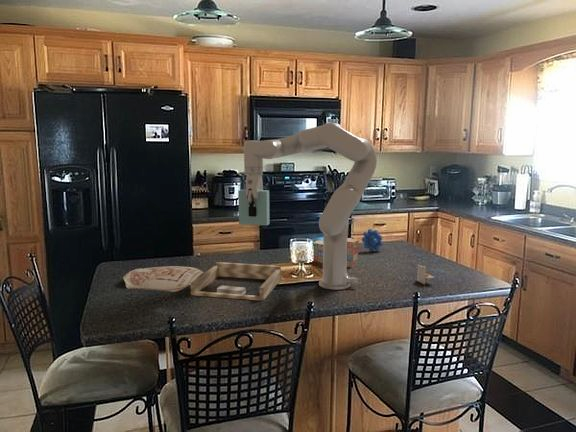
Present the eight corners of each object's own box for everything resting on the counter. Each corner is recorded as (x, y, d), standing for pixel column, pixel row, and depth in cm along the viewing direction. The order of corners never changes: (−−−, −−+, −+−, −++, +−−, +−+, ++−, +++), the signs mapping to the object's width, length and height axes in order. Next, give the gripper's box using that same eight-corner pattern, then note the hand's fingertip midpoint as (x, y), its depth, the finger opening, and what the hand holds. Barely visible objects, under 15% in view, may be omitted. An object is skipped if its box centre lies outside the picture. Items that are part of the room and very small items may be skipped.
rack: (281, 282, 200) (281, 265, 199) (263, 304, 175) (263, 285, 174) (216, 277, 207) (216, 261, 205) (190, 298, 181) (190, 280, 180)
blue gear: (364, 254, 247) (365, 230, 245) (359, 251, 253) (360, 228, 251) (385, 252, 250) (386, 229, 248) (380, 249, 256) (380, 227, 254)
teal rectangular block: (269, 223, 202) (269, 190, 200) (266, 225, 199) (266, 191, 196) (241, 222, 205) (241, 189, 203) (238, 224, 201) (238, 190, 199)
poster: (115, 296, 194) (186, 298, 188) (113, 281, 193) (184, 283, 187) (149, 271, 221) (211, 273, 215) (147, 258, 219) (210, 259, 213)
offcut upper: (245, 292, 183) (245, 287, 183) (241, 296, 179) (241, 291, 179) (221, 290, 186) (221, 285, 186) (216, 293, 182) (216, 288, 182)
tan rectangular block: (311, 261, 233) (311, 236, 231) (317, 258, 238) (318, 234, 236) (352, 268, 222) (353, 241, 220) (358, 264, 227) (358, 239, 225)
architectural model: (423, 280, 204) (424, 263, 203) (433, 285, 197) (434, 268, 196) (416, 281, 203) (417, 264, 202) (426, 286, 196) (427, 268, 195)
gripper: (256, 172, 189) (257, 219, 192) (267, 169, 205) (268, 212, 208) (238, 172, 191) (239, 218, 194) (250, 169, 207) (251, 211, 210)
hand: (254, 214), depth 201 cm, fingers closed on teal rectangular block, 4 cm apart
